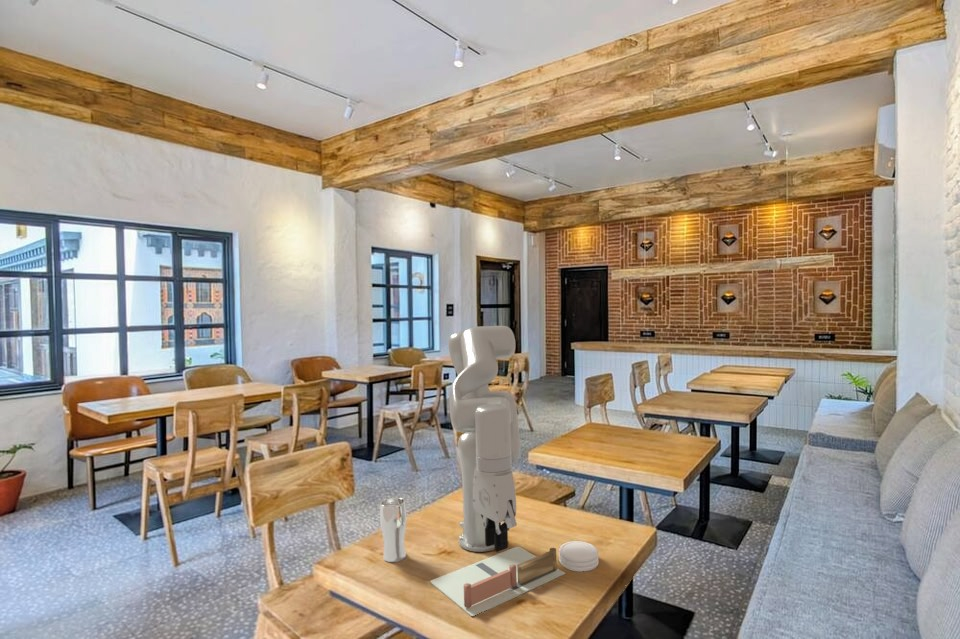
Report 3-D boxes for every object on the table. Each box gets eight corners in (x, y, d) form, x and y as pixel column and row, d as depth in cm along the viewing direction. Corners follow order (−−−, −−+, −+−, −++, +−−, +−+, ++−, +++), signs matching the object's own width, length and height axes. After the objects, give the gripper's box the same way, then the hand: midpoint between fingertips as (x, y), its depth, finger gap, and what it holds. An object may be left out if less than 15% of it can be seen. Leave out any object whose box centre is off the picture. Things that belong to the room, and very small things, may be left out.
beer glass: (412, 553, 142) (410, 498, 141) (398, 565, 135) (396, 508, 135) (391, 548, 144) (389, 495, 144) (376, 560, 138) (374, 505, 138)
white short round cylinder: (552, 558, 137) (551, 545, 137) (584, 550, 141) (584, 537, 140) (572, 576, 128) (572, 562, 127) (606, 567, 131) (606, 553, 131)
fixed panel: (517, 583, 124) (516, 562, 124) (553, 566, 131) (553, 547, 131) (521, 586, 123) (520, 565, 123) (558, 569, 130) (557, 549, 130)
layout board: (429, 582, 127) (429, 580, 127) (518, 547, 143) (518, 545, 143) (472, 617, 112) (472, 615, 112) (564, 573, 128) (564, 572, 128)
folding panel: (513, 582, 124) (513, 563, 124) (518, 585, 122) (517, 566, 122) (462, 605, 115) (462, 585, 115) (466, 608, 114) (466, 588, 114)
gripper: (458, 457, 116) (461, 539, 116) (503, 476, 103) (506, 567, 103) (485, 451, 120) (488, 529, 121) (532, 468, 107) (534, 555, 108)
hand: (496, 546), depth 112 cm, fingers open, 2 cm apart
